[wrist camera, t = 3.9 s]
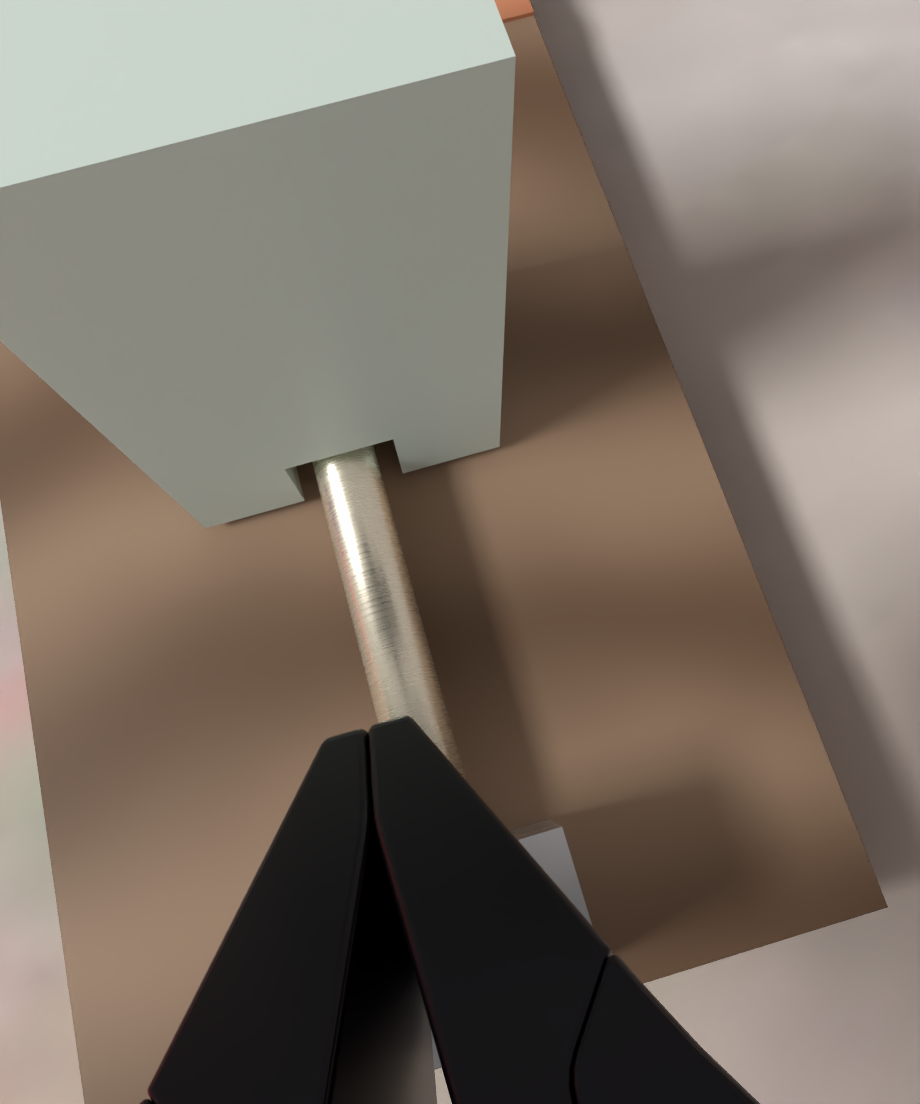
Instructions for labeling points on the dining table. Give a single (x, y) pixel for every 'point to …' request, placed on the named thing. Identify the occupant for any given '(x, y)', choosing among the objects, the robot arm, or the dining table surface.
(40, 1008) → the dining table surface
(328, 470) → the rod with end blocks
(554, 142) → the cord board
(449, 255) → the notched sage block
